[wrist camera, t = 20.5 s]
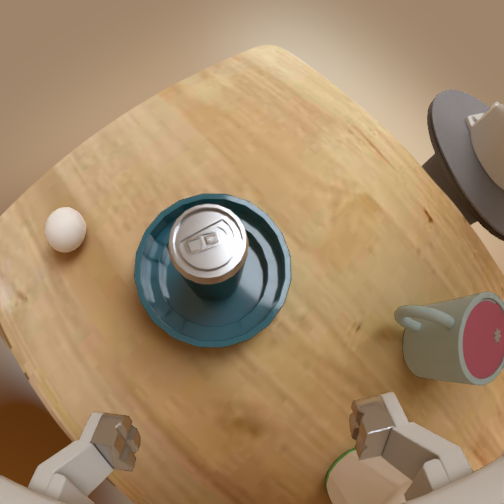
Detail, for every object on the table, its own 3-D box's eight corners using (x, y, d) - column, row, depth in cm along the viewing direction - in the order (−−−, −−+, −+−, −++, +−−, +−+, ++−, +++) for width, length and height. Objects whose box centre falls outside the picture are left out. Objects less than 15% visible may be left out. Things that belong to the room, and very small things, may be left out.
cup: (360, 410, 29) (446, 449, 14) (419, 454, 27) (499, 491, 13) (285, 489, 26) (323, 572, 11) (354, 525, 24) (408, 588, 9)
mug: (463, 320, 32) (517, 311, 23) (442, 386, 30) (496, 393, 20) (388, 276, 33) (440, 255, 23) (360, 351, 30) (410, 355, 21)
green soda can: (198, 309, 30) (181, 294, 18) (180, 259, 31) (155, 216, 19) (248, 290, 31) (262, 263, 19) (229, 241, 32) (232, 190, 20)
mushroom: (91, 212, 32) (73, 194, 27) (95, 251, 31) (76, 238, 26) (57, 223, 31) (36, 208, 26) (59, 261, 30) (37, 250, 25)
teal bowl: (230, 188, 34) (231, 168, 30) (308, 291, 32) (321, 284, 27) (123, 259, 31) (108, 247, 26) (197, 372, 29) (193, 378, 24)
